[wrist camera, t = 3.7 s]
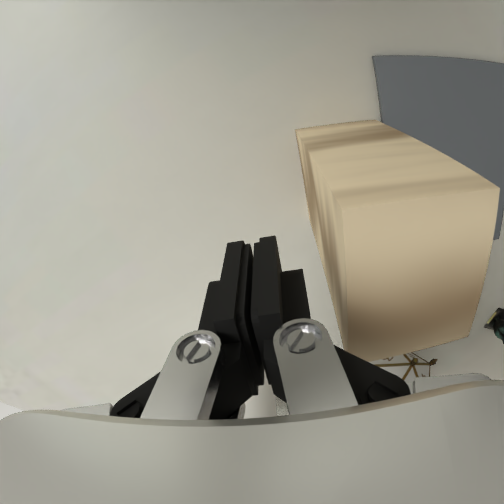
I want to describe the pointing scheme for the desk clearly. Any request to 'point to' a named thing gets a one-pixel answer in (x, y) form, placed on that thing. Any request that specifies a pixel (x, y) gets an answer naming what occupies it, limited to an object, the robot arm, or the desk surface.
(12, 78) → the desk surface
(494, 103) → the slate mat
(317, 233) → the maple block
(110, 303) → the desk surface
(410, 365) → the game die
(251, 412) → the white and black cylinder
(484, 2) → the desk surface
